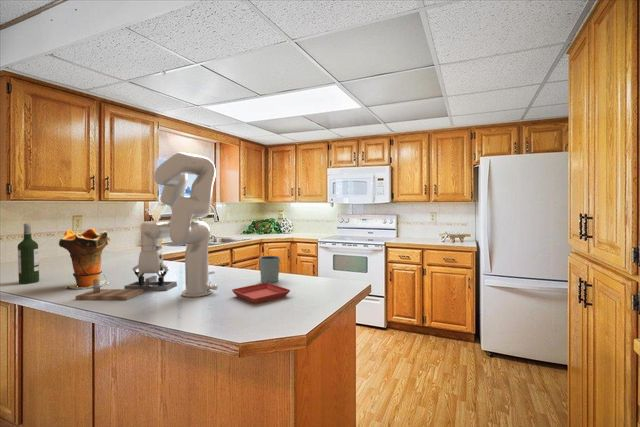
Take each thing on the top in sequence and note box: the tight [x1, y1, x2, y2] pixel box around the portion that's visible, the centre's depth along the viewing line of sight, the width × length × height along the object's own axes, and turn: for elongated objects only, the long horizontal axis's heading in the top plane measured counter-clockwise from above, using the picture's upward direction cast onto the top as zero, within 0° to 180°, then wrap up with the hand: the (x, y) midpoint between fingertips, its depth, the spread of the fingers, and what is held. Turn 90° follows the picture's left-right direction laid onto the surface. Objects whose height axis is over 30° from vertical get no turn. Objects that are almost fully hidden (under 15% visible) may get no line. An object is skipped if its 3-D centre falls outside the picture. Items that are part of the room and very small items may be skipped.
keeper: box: [75, 278, 144, 301], centre depth 143 cm, size 22×11×8 cm, turn 87°
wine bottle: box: [16, 222, 40, 285], centre depth 170 cm, size 8×8×30 cm
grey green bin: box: [259, 255, 281, 284], centre depth 168 cm, size 10×10×12 cm
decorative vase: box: [58, 227, 111, 290], centre depth 163 cm, size 21×23×28 cm
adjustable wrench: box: [208, 269, 216, 275], centre depth 180 cm, size 25×6×2 cm, turn 167°
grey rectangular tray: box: [124, 275, 178, 292], centre depth 156 cm, size 20×9×5 cm, turn 87°
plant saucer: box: [231, 282, 291, 305], centre depth 140 cm, size 18×18×3 cm
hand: (151, 285), depth 156 cm, fingers open, 8 cm apart
